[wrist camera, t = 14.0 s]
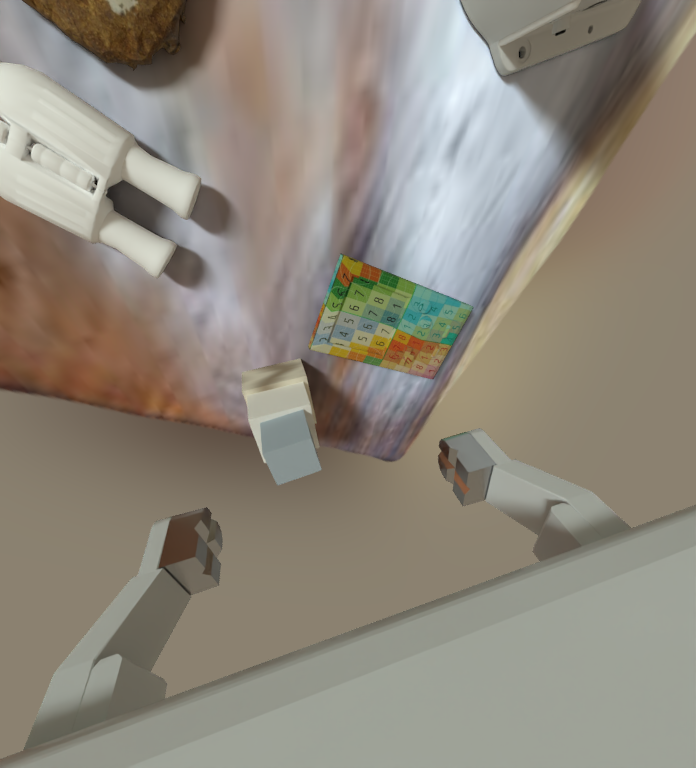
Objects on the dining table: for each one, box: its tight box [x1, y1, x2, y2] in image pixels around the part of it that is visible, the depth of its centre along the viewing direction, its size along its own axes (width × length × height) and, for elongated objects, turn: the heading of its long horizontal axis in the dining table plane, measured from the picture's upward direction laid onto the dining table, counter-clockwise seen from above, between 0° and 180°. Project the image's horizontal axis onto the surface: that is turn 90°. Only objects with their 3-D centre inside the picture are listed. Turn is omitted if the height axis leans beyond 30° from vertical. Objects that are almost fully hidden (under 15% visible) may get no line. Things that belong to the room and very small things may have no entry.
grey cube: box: [260, 410, 322, 485], centre depth 34 cm, size 5×5×5 cm
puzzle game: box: [308, 254, 473, 379], centre depth 42 cm, size 12×5×20 cm
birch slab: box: [242, 359, 317, 424], centre depth 43 cm, size 8×8×5 cm
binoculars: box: [0, 62, 201, 278], centre depth 26 cm, size 10×16×5 cm, turn 54°
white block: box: [247, 382, 320, 463], centre depth 39 cm, size 7×7×5 cm
